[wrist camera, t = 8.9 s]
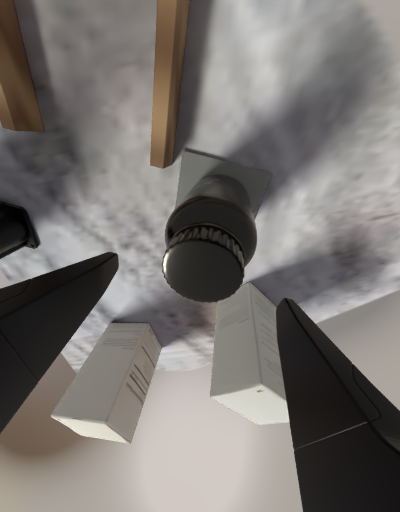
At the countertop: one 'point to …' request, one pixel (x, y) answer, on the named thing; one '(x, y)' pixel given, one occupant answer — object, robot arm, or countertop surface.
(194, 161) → the slate mat
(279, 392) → the small box
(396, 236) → the countertop surface
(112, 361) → the supplement box
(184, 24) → the frame
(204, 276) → the supplement bottle
